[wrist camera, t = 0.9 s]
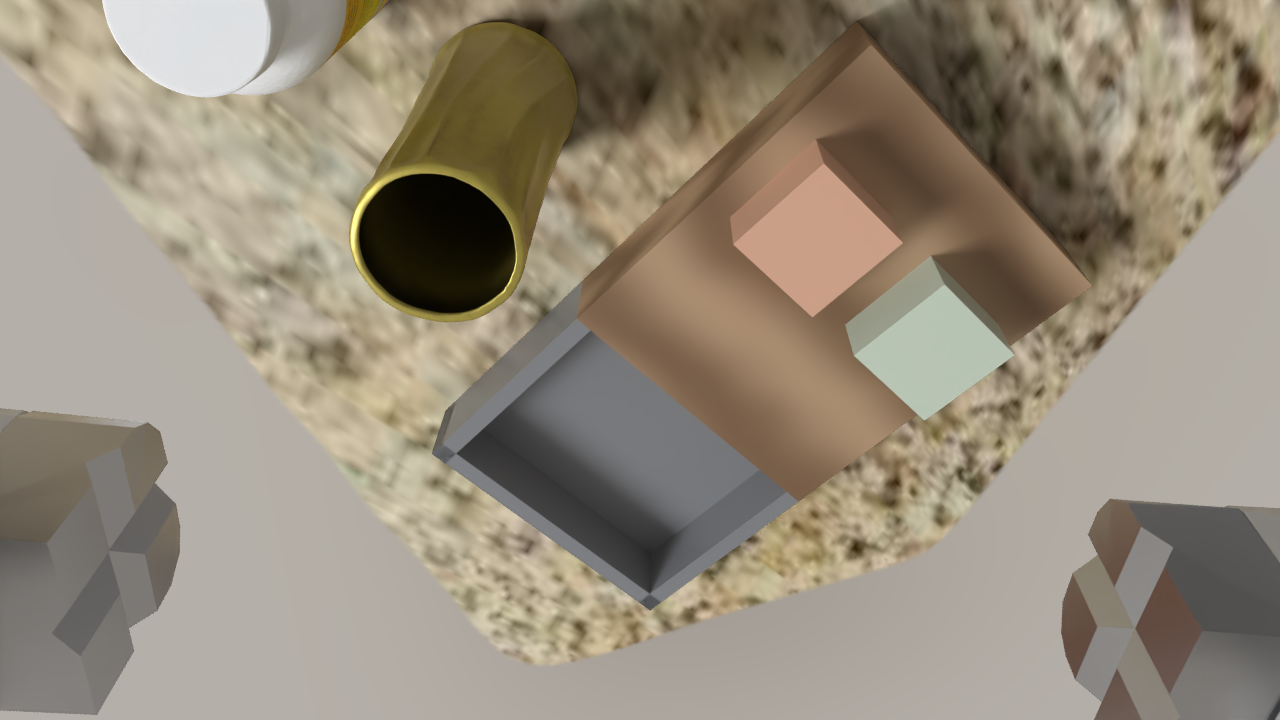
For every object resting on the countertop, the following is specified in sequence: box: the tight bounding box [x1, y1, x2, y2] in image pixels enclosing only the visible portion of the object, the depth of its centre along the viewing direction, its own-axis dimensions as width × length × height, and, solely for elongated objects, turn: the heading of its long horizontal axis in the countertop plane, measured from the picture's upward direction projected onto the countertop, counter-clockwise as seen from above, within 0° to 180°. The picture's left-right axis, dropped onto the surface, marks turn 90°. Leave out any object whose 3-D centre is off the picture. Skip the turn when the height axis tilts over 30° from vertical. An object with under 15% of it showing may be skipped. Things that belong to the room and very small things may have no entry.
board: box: [577, 21, 1092, 501], centre depth 45 cm, size 16×14×4 cm
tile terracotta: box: [730, 140, 903, 317], centre depth 40 cm, size 4×4×2 cm
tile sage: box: [845, 256, 1014, 421], centre depth 43 cm, size 4×4×2 cm
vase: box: [349, 22, 578, 322], centre depth 37 cm, size 6×6×14 cm
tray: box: [432, 281, 798, 610], centre depth 50 cm, size 10×14×4 cm
